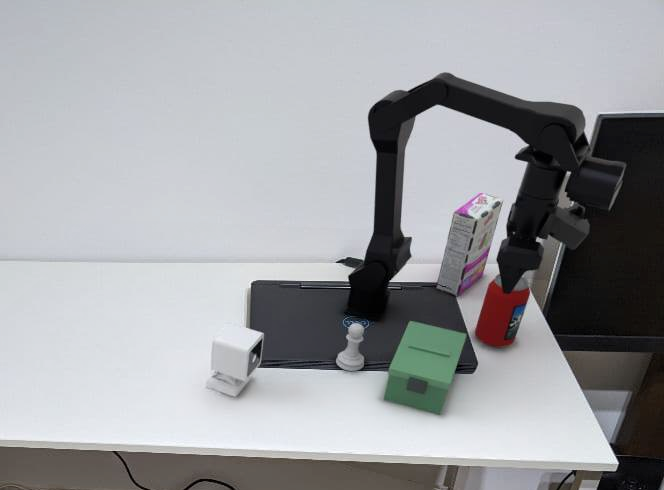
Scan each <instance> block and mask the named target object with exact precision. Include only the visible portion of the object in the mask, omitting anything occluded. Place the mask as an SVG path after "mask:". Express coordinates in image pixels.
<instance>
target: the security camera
mask: <svg viewBox="0 0 664 490" xmlns="http://www.w3.org/2000/svg"><path fill="white" fill-rule="evenodd" d="M264 341H265V333H264V332H262V331H259V330H258V331H257V330H255V329H252V328H249V327H245V326H242V325H239V324H236V323H232V322H228V323H227V324H226V325H225V326H224V327H223V328H222V329H221V330H220V331H219V332H218V333H217V334H216V335H215V336H214V338H213V340H212V343H211V344H212V345H211V355H210V356H211V357H210V371H213V372H214V373H213V372H212V373H211V374H210V375H209V377H208V378H207V379H206V382H205V383H206V384H205V386H206V388H208V389H211V390H214V391H216V392H219V393H222V394H225V395H228V396H231V397H237V396H238V395H239V393H241V391H242V390H243V389H244V387H246V385H247V384H248V383H249V382H250V379H251V376H252V375H253V374H254V373H255V372H256V370H257V369H258V368H259V367H260V365H261V363H262V357H263V348H264Z"/></svg>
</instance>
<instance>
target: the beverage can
mask: <svg viewBox="0 0 664 490" xmlns="http://www.w3.org/2000/svg"><path fill="white" fill-rule="evenodd" d="M529 283H530V282H529V280H528V279H527V278H526V277H524V276H522V277H521V278H520V280H519V281H518V283H517V284H516V286H515V287H514V289H513V290H512V292H511V293H510V294H505V293H503V290H502V284H501V278H500V273H498V274H497V275H496V276H495V277H494V278H493V279H492V280H491V281H490V282H489V283H488V286H487V289H486V292H485V295H484V298H483V301H482V305H481V309H480V313H479V316H478V319H477V322H476V325H475V329H474V335H475V337H476V338H477V339H478V340H479V341H480V342H481V343H483V344H484V345H487V346H489V347H493V348H502V347H508V346H511V345H512V344H513V343H514V342H515V340H516V337H517V334H518V332H519V329H520V326H521V323H522V319H523V317H524V314H525V311H526V308H527V306H528V302H529V299H530V295H531V289H530V286H529V285H530V284H529Z"/></svg>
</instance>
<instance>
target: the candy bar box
mask: <svg viewBox="0 0 664 490" xmlns="http://www.w3.org/2000/svg"><path fill="white" fill-rule="evenodd" d="M503 203H504V199H503V198H501V197H497V196H494V195H491V194H488V193H483V192H479V193H478V194H477V195H475V196H474V197H472V198H471V199H470V200H468V201H467V202H466V203H464V204H463V205H461V206H460V207H459V208H457V209H456V210H455V211H453V214H452V218H451V223H450V226H449V231H448V235H447V240H446V244H445V249H444V253H443V257H442V262H441V265H440V269H439V274H438V278H437V282H436V286H435V288H436V289H437V290H439V291H441V292H445V293H446V294H449V295H453V296H455V297H459V296H460V295H462V294H463V293H464V292H465V291H466V290H468V289H469V287H471V286H472V285H473V284H475V282H477V281H478V280H479V279H480V278H481V277H482V276H483V275H484V272H485V268H486V265H487V262H488V257H489V253H490V249H491V246H492V242H493V239H494V236H495V233H496V228H497V226H498V225H497V224H498V221H499V217H500V214H501V210H502V206H503ZM437 284H440V285H442V286H446V287H449V288H451V289H452V290H450V289H447V288H445V287H442V286H440V285H437Z"/></svg>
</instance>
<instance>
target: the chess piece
mask: <svg viewBox="0 0 664 490" xmlns="http://www.w3.org/2000/svg"><path fill="white" fill-rule="evenodd" d="M347 331H348V333H347V334H346V336H345V338H346V339H347V346H346V347H345V349H344V350H342V351H340V352H339V353H338V354H337V357H336V359H335V362H336V363H335V364H336V365H337V366H338V367H339V368H340V369H342V370H344V371H346V372H347V371H348V372H357V371H360V370H362V369H363V368H364V365H365V358H364V355H363V354H361V352H360V349H359V347H360V343H361V342H363V341H364V337H363V335H364V333H365V329H364V326H363V325H362V324H361V323H357V322H355V323H354V322H353V323H352V324H350V325H349V327H348V330H347Z"/></svg>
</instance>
